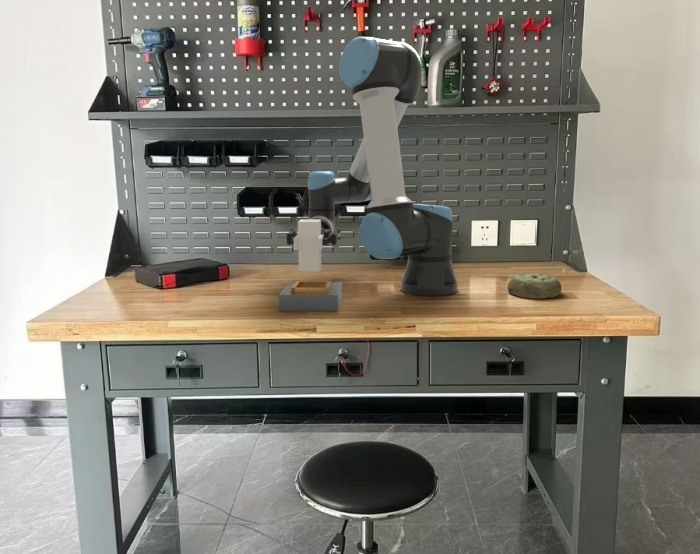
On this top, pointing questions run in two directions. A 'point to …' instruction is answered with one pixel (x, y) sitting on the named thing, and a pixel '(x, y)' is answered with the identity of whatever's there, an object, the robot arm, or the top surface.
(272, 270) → the top surface
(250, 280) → the top surface
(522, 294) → the weight
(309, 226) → the column
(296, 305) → the jig plate
